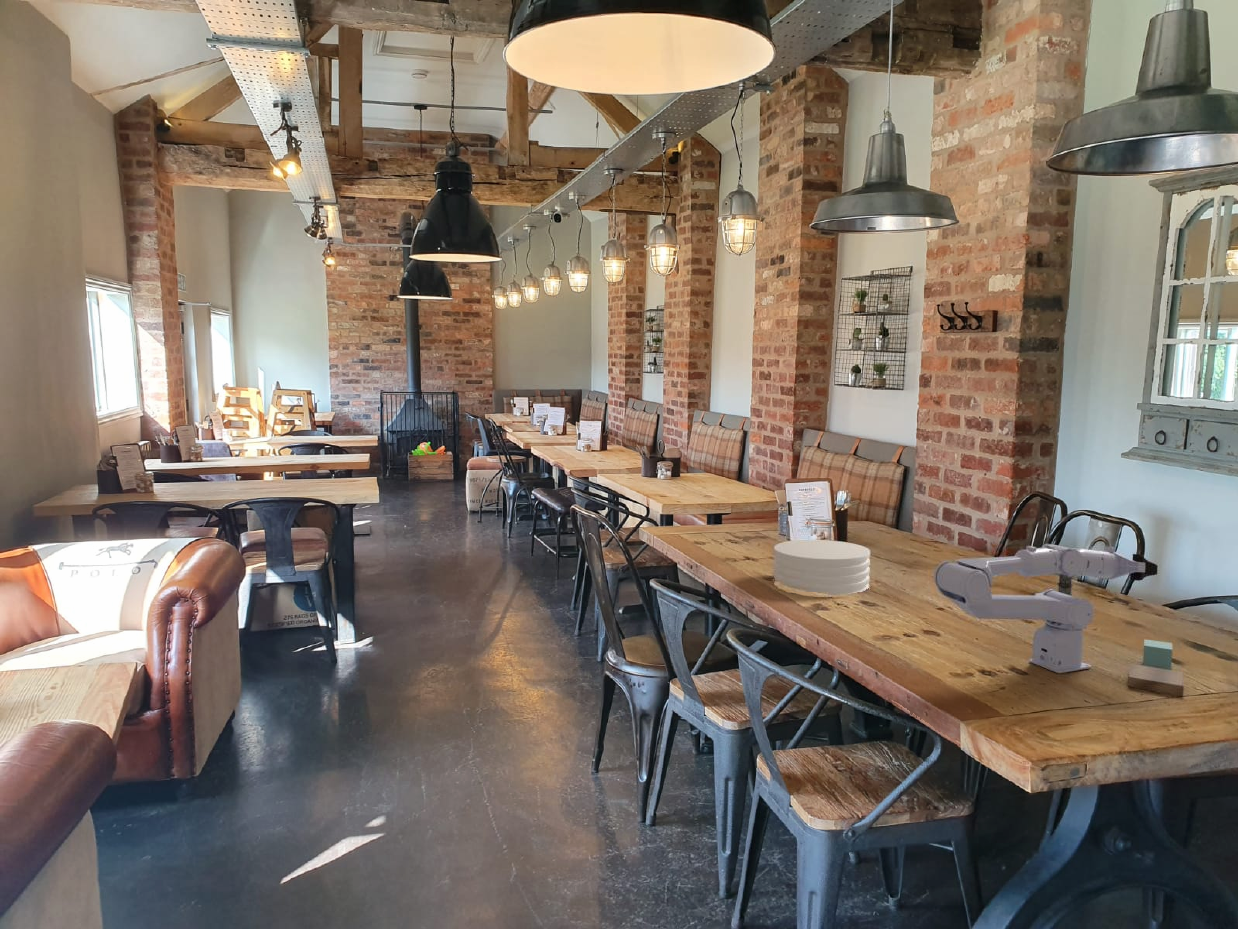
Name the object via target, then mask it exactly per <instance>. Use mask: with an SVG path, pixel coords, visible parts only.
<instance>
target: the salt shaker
mask: <svg viewBox="0 0 1238 929" xmlns="http://www.w3.org/2000/svg"><path fill="white" fill-rule="evenodd" d="M1058 576H1059V578H1058V583H1057V585H1058V589H1057V591H1058V592H1060V593H1064V594H1067V595H1070V596H1073V595H1072V588H1073V586H1074V585H1073V583H1072V578H1073V576H1070V577H1068V575H1063V574H1059V575H1058Z"/></svg>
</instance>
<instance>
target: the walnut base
mask: <svg viewBox="0 0 1238 929" xmlns="http://www.w3.org/2000/svg"><path fill="white" fill-rule="evenodd" d="M1183 674H1184V673H1183V671H1178V670H1172V669H1171V670H1166V669H1160V668H1154V667H1148V666H1143V665H1142V664H1141V665H1140V664H1133V663H1130V664H1129V675H1128V687H1129V686H1130V688H1134V689H1135V688H1136V689H1140V688H1141V689H1142V690H1146V691H1147V690H1148V691H1153V692H1158V691H1160V692H1159V693H1164V694H1168V695H1169V694H1171V695H1175V696H1176V695H1177V696H1181V695H1182V697H1184V688H1185V687H1184V686H1185V685H1184V675H1183Z"/></svg>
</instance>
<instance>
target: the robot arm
mask: <svg viewBox="0 0 1238 929" xmlns="http://www.w3.org/2000/svg"><path fill="white" fill-rule="evenodd" d="M1025 548H1026V549H1020V550H1017V552H1016V553H1015V554H1014V556H996V557H978V558H977V557H976V558H975V557H973V558H972V557H971V558H958V559H955V560H954V561H955V562H954V561H951V560H945V561H943V562H941V563H940V564H938V565H937V567H936V568H935V570H934V572H933V573H934V574H933V582H934V584H935V586H936V588H937V590H938V593H939V594H940V595H941V596H943V597H945V598H946V599H948V600H950V602H952V603H953V604H955V605H956V606H957V607H958V608H959V609H960V610H962V611H963V612H964V613H965V614H967V615H969V616H971V617H974V618H977V619H980V620H981V619H982V620H1025V621H1026V620H1032V621H1033V620H1034V621H1035V620H1038V621H1041V620H1042V621H1043V622H1045V623H1044V624H1043V626H1041V627H1039V628H1037V629H1036V630H1035V632H1034V633H1033V638H1032V641H1033V642H1032V657H1031V658H1030V659H1028V662H1029V663H1032V664H1034V665H1036V666H1039V667H1042V668H1044V669H1047V670H1049V671H1052V672H1055V673H1057V674H1063V673H1068V672H1069V673H1070V672H1074V671H1080V670H1085V669H1086V670H1087V669H1091V668H1092V665H1090V664H1088V663H1085V662H1083V649H1084V648H1083V644H1084V630H1086V629H1087V628H1088V626H1089V625H1091V622H1093V618H1094V615H1095V608H1094V605H1093V604H1092V603H1091V601H1090V600H1088V599H1085V598H1079V597H1077V596H1073V595H1072V596H1070V595H1067V594H1064V593H1060V592H1058V590H1056V589H1046V590H1045V591H1043V592H1040V593H1039V592H1037V593H1035V594H1034V595H1025V594H1024V595H1022V594H1019V595H1018V594H1017V595H1015V594H992V590H991V587H993V585H994V577H1000V576H1005V575H1009V574H1011V575H1012V574H1019V576H1021V577H1024V578H1032V577H1039V576H1040V577H1041V576H1047V575H1050V576H1051V575H1054V574H1059V575H1060V574H1063V575H1068V577H1070V576H1072V577H1074V576H1082V577H1083V576H1084V577H1093V578H1100V579H1101V578H1102V579H1105V580H1114V579H1118V578H1121V577H1124V576H1127V575H1130V576H1129V578H1130V579H1129V580H1130V581H1143V580H1144V579H1145V578H1146V577H1147V578H1148V577H1150V576H1156V575H1158V567H1159V566H1158V564H1157V563H1154V562H1152V561H1149V560H1148V559H1146V558H1145V556H1144V555H1142V554H1139V553H1133V554H1132V559H1130V558H1127V557H1126V556H1123V555H1122V554H1120V553H1117V552H1116V548H1115V547H1113V546H1104V550H1096V549H1095V550H1094V549H1086V548H1077V547H1075V548H1074V547H1070V548H1069V547H1066V546H1062V545H1057V544H1051V543H1045V544H1043V545H1042V546H1041V547H1036V546H1032V545H1027V546H1026V547H1025ZM956 562H957V563H956Z"/></svg>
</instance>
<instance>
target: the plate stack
mask: <svg viewBox="0 0 1238 929" xmlns="http://www.w3.org/2000/svg"><path fill="white" fill-rule="evenodd" d="M773 553H774V555H773V560H774V563H773V579H774V578H775V579H776V580H777V581H778V582H780V583H781V584H783V585H786V586H788V587H790V588H793V589H798V590H803V591H806V592H817V593H825V594H826V593H827V594H828V595H840V594H852V593H857V592H863V591H865V590H866V589H868V588H869V589H870V581H871V580H870V578H871V577H870V572H871V570H870V569H871V568H870V565H871V559H870V557H871V550H870V549H869V548H868V547H865V546H864V545H860V544H857V543H851V542H846V541H838V540H831V539H830V540H828V539H798V540H796V539H795V540H790V541H789V540H787V541H783V542H780V543H777V544H775V545H774V547H773Z"/></svg>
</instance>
